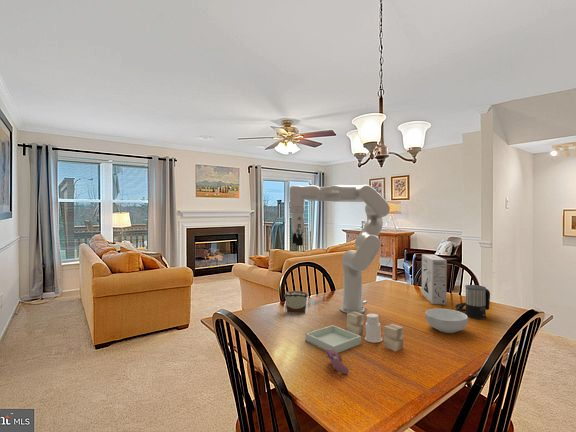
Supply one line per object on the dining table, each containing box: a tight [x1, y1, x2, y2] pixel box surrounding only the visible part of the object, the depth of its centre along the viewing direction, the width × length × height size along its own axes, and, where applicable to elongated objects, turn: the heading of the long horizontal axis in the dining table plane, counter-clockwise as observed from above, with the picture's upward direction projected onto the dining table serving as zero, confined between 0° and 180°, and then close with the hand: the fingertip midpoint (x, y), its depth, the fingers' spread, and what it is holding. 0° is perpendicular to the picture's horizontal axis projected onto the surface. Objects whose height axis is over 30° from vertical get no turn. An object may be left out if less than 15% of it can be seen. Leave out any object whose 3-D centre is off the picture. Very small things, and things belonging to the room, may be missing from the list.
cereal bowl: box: [425, 308, 469, 334], centre depth 141 cm, size 17×17×7 cm
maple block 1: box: [346, 311, 365, 336], centre depth 138 cm, size 5×5×8 cm
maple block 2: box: [383, 323, 404, 352], centre depth 123 cm, size 5×5×8 cm
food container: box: [283, 290, 309, 315], centre depth 166 cm, size 12×6×10 cm, turn 84°
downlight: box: [362, 313, 384, 344], centre depth 130 cm, size 8×7×10 cm
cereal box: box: [421, 253, 448, 306], centre depth 188 cm, size 22×8×25 cm, turn 172°
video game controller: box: [325, 348, 349, 375], centre depth 107 cm, size 10×5×7 cm, turn 5°
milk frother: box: [455, 284, 491, 320], centre depth 162 cm, size 14×16×15 cm
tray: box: [304, 324, 362, 354], centre depth 127 cm, size 16×16×3 cm
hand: (297, 244), depth 161 cm, fingers open, 9 cm apart
